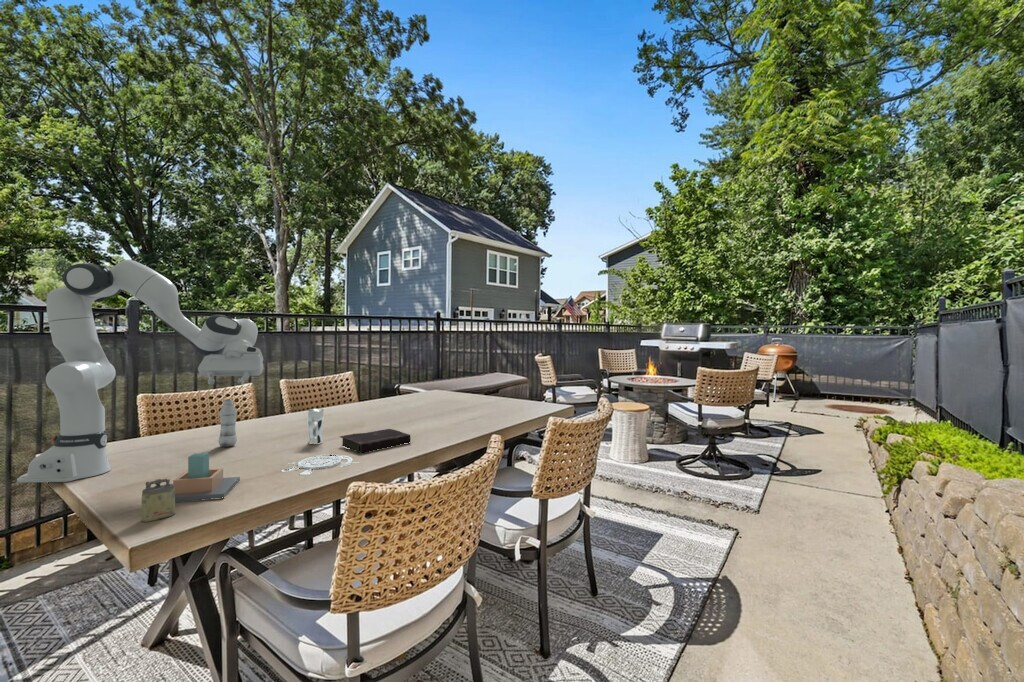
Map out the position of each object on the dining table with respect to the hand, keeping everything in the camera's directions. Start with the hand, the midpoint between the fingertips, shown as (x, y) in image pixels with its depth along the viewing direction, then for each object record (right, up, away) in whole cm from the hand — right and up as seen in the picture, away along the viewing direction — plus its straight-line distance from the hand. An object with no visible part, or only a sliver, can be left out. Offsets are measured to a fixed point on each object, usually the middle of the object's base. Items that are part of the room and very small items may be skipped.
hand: (225, 383), depth 156 cm
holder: (+4, -32, -19) cm, 37 cm away
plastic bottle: (-21, -31, +35) cm, 51 cm away
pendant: (+28, -33, +13) cm, 45 cm away
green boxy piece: (+7, -32, -38) cm, 51 cm away
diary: (+40, -32, +42) cm, 66 cm away
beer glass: (+13, -31, +43) cm, 54 cm away
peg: (+4, -30, -19) cm, 36 cm away
